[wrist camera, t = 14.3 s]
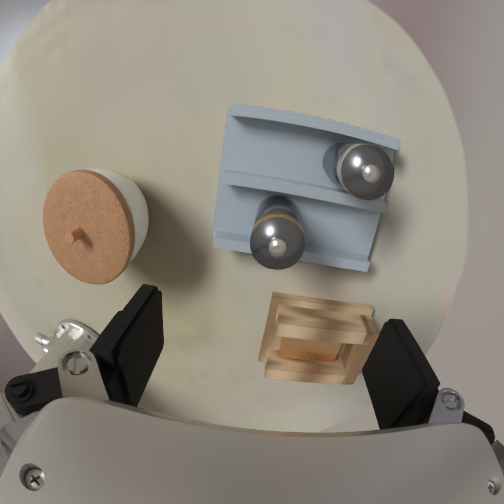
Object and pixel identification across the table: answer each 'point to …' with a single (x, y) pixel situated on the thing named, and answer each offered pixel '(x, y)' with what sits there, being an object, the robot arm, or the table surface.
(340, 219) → the trough board
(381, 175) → the cell
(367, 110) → the table surface
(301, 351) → the brown rectangular slab
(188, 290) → the table surface
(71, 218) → the lidded jar
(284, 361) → the cradle
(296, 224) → the cell
